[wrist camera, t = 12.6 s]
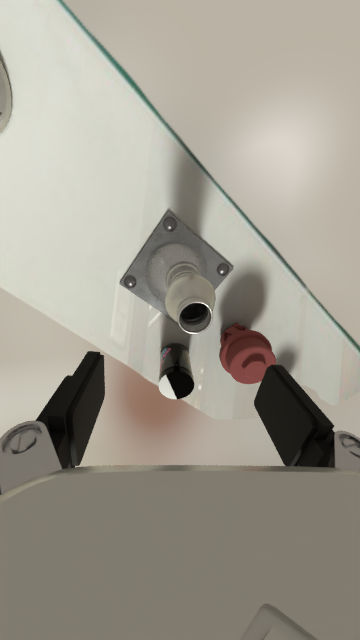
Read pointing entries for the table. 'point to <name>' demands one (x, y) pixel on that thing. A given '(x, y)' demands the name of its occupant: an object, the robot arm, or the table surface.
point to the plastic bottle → (189, 297)
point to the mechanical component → (245, 354)
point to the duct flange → (171, 262)
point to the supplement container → (175, 372)
